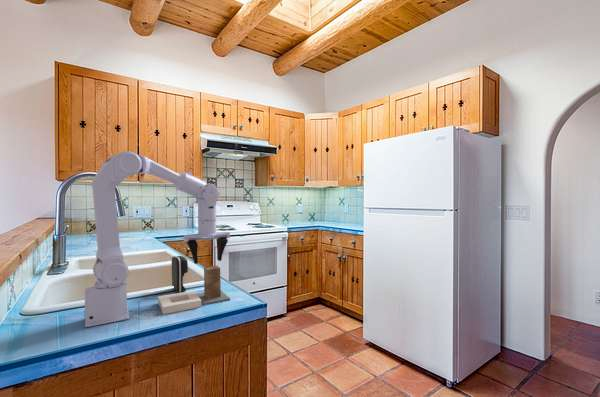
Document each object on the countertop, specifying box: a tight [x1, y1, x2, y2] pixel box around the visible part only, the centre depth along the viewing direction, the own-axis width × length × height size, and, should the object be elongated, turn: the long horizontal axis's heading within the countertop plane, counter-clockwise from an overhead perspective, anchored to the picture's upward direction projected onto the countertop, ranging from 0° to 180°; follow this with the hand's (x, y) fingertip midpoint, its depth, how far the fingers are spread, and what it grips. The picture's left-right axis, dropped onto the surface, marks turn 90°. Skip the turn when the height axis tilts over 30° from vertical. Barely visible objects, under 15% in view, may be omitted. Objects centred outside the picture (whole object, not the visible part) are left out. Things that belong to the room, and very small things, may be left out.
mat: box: [196, 290, 231, 306], centre depth 96 cm, size 8×10×1 cm
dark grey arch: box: [171, 255, 189, 293], centre depth 104 cm, size 7×4×11 cm, turn 38°
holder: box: [157, 290, 202, 315], centre depth 90 cm, size 10×10×2 cm
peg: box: [203, 265, 222, 299], centre depth 96 cm, size 4×4×9 cm
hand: (207, 261), depth 100 cm, fingers open, 7 cm apart
